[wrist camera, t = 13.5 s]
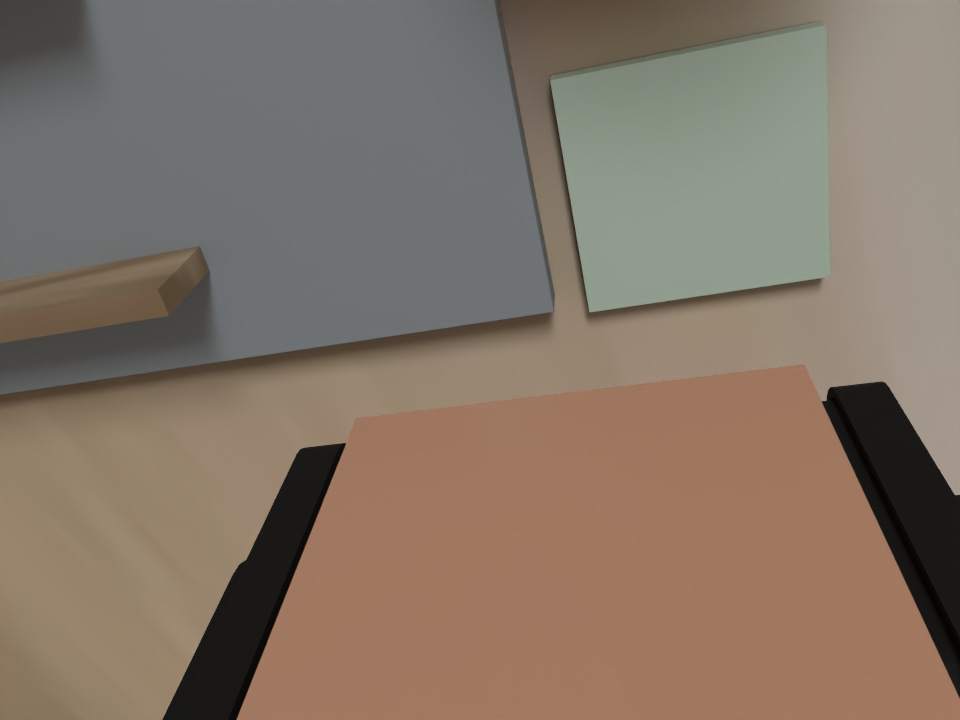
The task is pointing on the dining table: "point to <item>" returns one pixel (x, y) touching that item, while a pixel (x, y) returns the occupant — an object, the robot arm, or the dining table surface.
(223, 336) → the deck
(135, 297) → the frame
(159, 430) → the dining table surface
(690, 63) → the pad
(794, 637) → the cube
